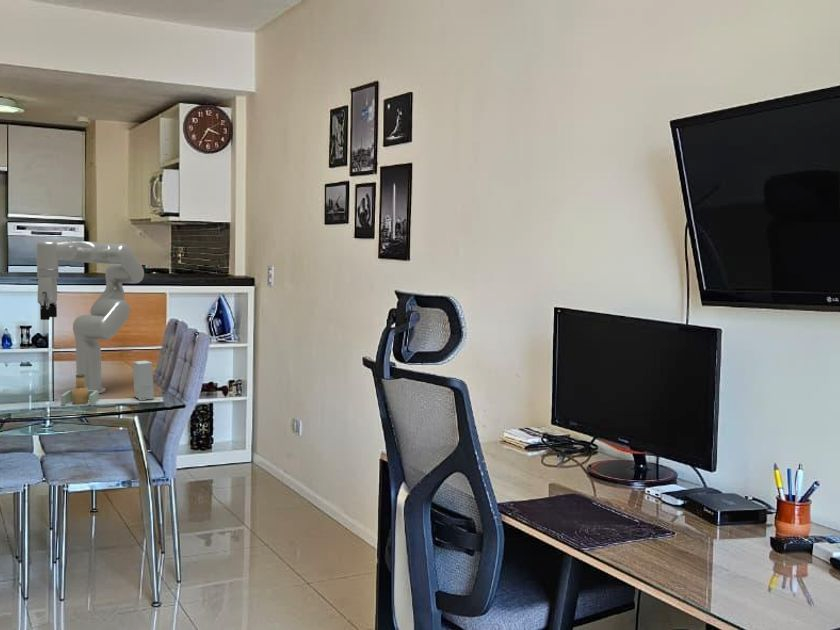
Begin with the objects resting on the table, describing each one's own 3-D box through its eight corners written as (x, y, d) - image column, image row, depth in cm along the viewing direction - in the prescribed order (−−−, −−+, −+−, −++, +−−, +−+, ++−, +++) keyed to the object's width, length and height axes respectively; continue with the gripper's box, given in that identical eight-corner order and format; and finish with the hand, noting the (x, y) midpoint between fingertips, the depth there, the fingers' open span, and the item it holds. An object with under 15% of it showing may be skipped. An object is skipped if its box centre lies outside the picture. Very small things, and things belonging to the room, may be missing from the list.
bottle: (74, 401, 346) (74, 373, 345) (89, 401, 347) (89, 373, 346) (71, 404, 341) (70, 376, 340) (86, 404, 341) (86, 376, 340)
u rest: (68, 400, 348) (68, 390, 348) (98, 400, 350) (98, 390, 349) (61, 405, 338) (61, 395, 338) (92, 405, 339) (92, 395, 339)
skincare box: (154, 399, 353) (153, 362, 352) (138, 401, 350) (138, 363, 348) (147, 396, 360) (147, 359, 359) (132, 397, 357) (132, 360, 355)
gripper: (44, 272, 349) (45, 316, 351) (30, 274, 332) (31, 320, 334) (64, 272, 350) (65, 316, 352) (51, 275, 333) (52, 320, 335)
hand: (48, 318), depth 343 cm, fingers open, 9 cm apart
